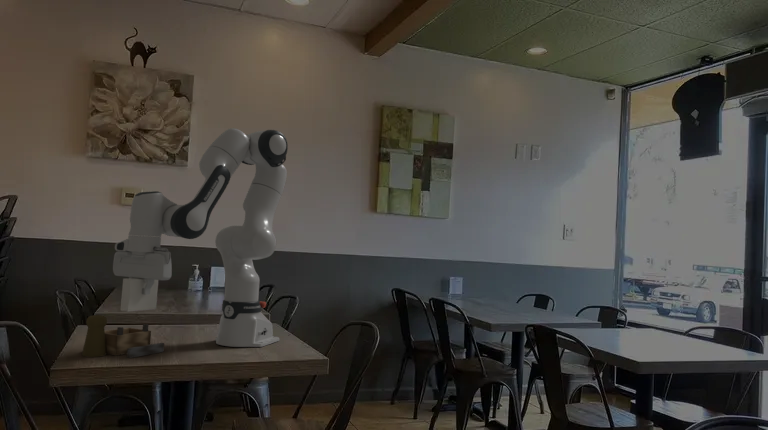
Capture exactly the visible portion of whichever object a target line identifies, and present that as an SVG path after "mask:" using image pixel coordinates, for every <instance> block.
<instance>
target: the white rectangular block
mask: <svg viewBox="0 0 768 430" xmlns="http://www.w3.org/2000/svg"><path fill="white" fill-rule="evenodd" d="M145 285H146V283H145V279H144V278H129V277H127V278H122V290H121V298H120V299H121V301H120V311H122V312H127V313H129V312H140V311H148V310H157V303H158V302H157V301H158V289H159V280H154V284H153V286H152V287H151V288H150V294H149V295H144V294H142V288H144V287H145Z"/></svg>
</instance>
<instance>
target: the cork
mask: <svg viewBox="0 0 768 430" xmlns="http://www.w3.org/2000/svg"><path fill="white" fill-rule="evenodd" d="M85 323H86V326H87V331H86V335H85V340H84V344H83V350H82V354H81V355H82V357H85V356H88V357H87V358H98V357H103V356H106V355H107V354H106V346H105V331H106V330H105V327H106V326H107V323H108V320H107V317H106V316H105V315H101V314H94V315H90V316H88V317H87V318H86V322H85Z"/></svg>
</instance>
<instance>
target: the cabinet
mask: <svg viewBox="0 0 768 430" xmlns="http://www.w3.org/2000/svg"><path fill="white" fill-rule="evenodd" d="M149 326H150V325H149V324H148V323H144V324H142V328H135V327H123V326H120V327H118V326H117V328H116V329H110V330H109V329H108V330H104V331H105V346H106V355H113V356H120V354H121V355H125V354H126V358H128V359H132V358H138V357H143V356H147V355H153V354H158V353H159V354H160V353H164V349H165V343H163V342H158V343H152V344H151V339H152V337H151V336H152V330H149Z"/></svg>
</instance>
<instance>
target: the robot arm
mask: <svg viewBox="0 0 768 430" xmlns="http://www.w3.org/2000/svg"><path fill="white" fill-rule="evenodd" d="M288 146H289V145H288V140H287V138H286V136H285V134H284V133H282V132H281V131H278V130H275V129H267V130H258V131H255V132H252V133H248V134H246V133H245V132H244V131H242V130H240V129H238V128H234V127H233V128H228V129H226V130H224V131H223V132H222V133H221V134H220V135H219V136H218V137H217V138H215V140H213V142H212V143H211V144H210V146H208V148H207V149H206V150H205V152H204V153H203V154H202V156H201V158H200V161H199V163H198V166H199V171H200V174H202V176H203V177H204V178H205V180H204V182H203V184H202V185H201V187H200V188H199V189H198V192H197V193H196V194H195V196H194V198H193V199H192V200H191V201H189V202H188V203H185V204H177V203H176V202H173V201H172V200H170V199H169V198H167V196H165V195H164V194H163V193H162V192H161V191H153V190H152V191H142V192H138V193H136V194H135V195H134V196H133V199H132V202H131V206H130V207H131V208H130V214H129V215H130V216H129V223H130V229H129V232H128V238H126V239H124V240H121V241H118V242H116V243H114V250H115V251H116V252H115V253H114V255H113V262H112V273H113V274H114V276H117V277H124V278H125V277H127V278H144V279H145V283H146V285H145V287H144V288H142V294H144V295H149V294H150V288H151V287H152V286H153V284H154V280H158V281H169V280H170V279H171V278H172V274H173V273H172V271H173V269H172V267H173V266H172V257H171V256H172V254H171V251H170V250H169V249H168V248H167V247H161V242H162V235H165V236H167V237H168V236H169V237H175V238H182V239H186V240H194V239H197V238H199V237H200V236H202V235H203V234H204V233H205V232H206V229H207V227H208V224H209V220H210V218H211V214H212V211H213V210H214V209H215V207H216V205H217V204H218V201H219V200H220V199H221V197H222V196H223V194H224V192H225V190H226V188H227V187H228V185H229V183H230V180H231V178H232V177H233V175H234V174H235V173H236V171H237V169H238V168H239V167H240V166H241V164H245V165H248V166H252V165H253V166H254V165H255V174H254V177H253V179H252V181H251V183H250V186H249V188H248V191H247V193H246V195H245V198H244V200H243V203H242V208H243V211H244V212H245V214H244V221H243V224H242V225H231V226H228V227H224V228H223V229H221V230H219V232H217V234H216V236H215V247H216V249H217V251H218V252H219V254H220V256H221V260H222V263H223V268H224V278H225V279H224V280H225V282H224V298H223V300H222V304H221V306H222V307H221V308H222V309H221V310H222V314H221V316H220V318H219V319H220V320H219V324H218V325H219V326H218V331H217V336H216V337H215V339H214V340H215V343H216V344H217V345H220V346H223V347H224V346H225V347H231V348H232V347H234V348H247V347H248V348H250V347H251V348H253V347H254V348H256V347H257V348H262V347H265V346H268V345H270V344H273V343H277V342H279V341H280V337H278V336H274V333H273V332H274V330H273V327H274V326H273V323H272V322H271V321H270V320H269V319H268V318H267V317H266V316H265V315H264V314H263V313H262V308H263V309H264V308H266V307H267V302H266V301H260V300H259V298H260V297H259V294H260V282H261V281H260V279H261V278H260V275H258V274H259V273H257V272H256V269H255V266H254V262H253V260H255V261H256V260H257V261H258V260H262V259H266V258H269V257H270V256H272V255H273V254H274V253H275V250H276V247H277V239H276V238H277V237H276V236H275V233H274V231H273V229H274V228H273V226H274V225H273V224H274V218H275V215H276V211H277V209H278V206H279V203H280V201H281V199H282V195H283V193H284V189H285V185H286V183H287V176H288V170H287V168H286V167H285V165H283V164H285V162H286V160H287V153H288V149H289V148H288Z"/></svg>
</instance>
